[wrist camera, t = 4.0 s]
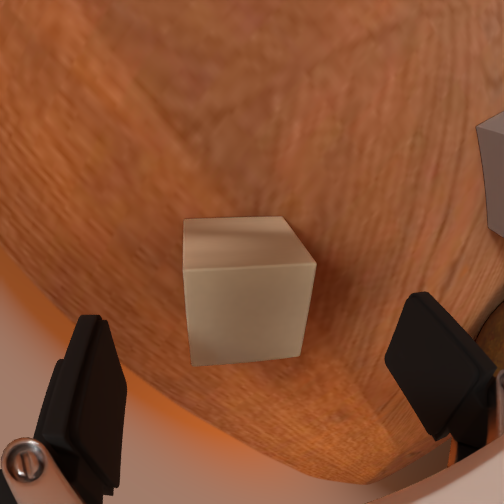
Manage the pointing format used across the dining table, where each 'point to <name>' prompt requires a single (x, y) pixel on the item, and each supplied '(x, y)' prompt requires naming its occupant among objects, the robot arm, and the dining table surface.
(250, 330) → the cream block
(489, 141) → the perfume bottle
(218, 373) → the dining table surface
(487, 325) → the potato
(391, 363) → the robot arm
